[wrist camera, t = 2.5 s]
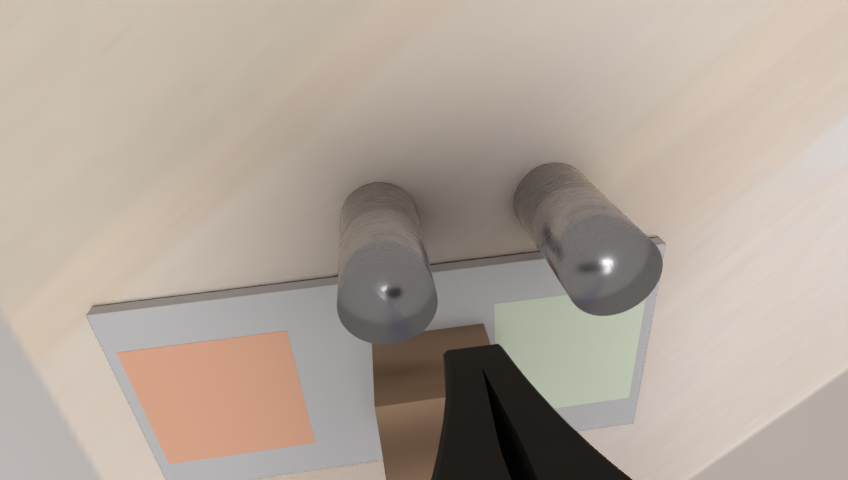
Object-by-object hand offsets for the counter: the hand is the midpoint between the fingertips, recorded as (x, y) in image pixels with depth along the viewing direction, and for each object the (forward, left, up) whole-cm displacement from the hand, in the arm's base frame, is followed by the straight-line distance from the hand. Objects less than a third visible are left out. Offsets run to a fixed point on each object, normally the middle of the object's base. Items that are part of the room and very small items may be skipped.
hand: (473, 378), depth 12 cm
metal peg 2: (0, -5, -9) cm, 11 cm away
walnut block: (-8, 0, -9) cm, 12 cm away
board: (-8, +2, -9) cm, 12 cm away
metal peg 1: (0, +2, -9) cm, 10 cm away
